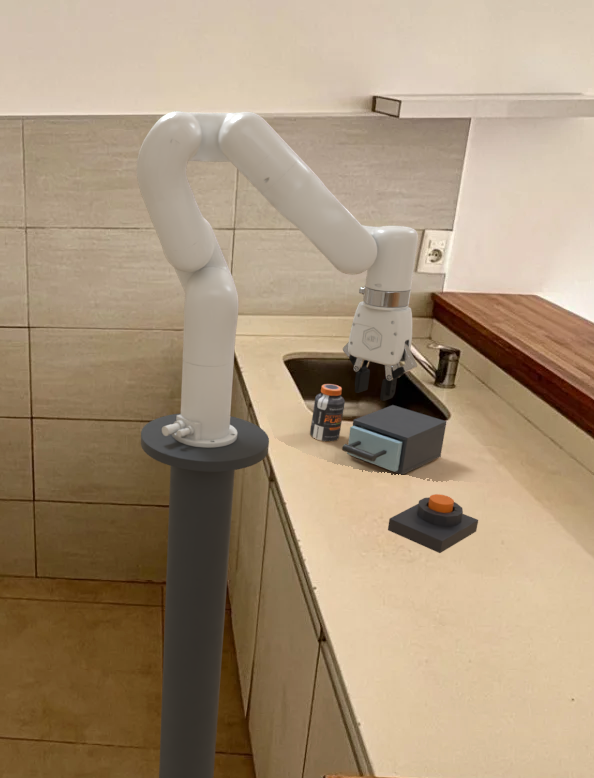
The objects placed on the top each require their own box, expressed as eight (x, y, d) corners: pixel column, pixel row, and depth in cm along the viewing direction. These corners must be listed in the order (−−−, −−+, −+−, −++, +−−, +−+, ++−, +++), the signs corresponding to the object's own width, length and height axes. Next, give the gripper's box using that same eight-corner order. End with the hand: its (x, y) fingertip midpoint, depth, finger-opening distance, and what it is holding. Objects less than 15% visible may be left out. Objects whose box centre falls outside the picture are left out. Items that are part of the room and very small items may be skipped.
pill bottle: (322, 444, 158) (329, 393, 154) (303, 433, 163) (310, 383, 159) (345, 440, 160) (353, 389, 156) (326, 429, 165) (333, 380, 161)
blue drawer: (379, 479, 141) (383, 450, 139) (331, 460, 148) (334, 432, 146) (430, 455, 150) (435, 427, 148) (383, 438, 158) (387, 412, 156)
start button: (444, 516, 122) (446, 506, 121) (423, 507, 125) (425, 498, 124) (456, 509, 124) (458, 500, 123) (435, 501, 127) (437, 492, 126)
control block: (439, 553, 118) (444, 530, 117) (387, 530, 125) (390, 508, 124) (476, 531, 124) (480, 509, 123) (424, 510, 131) (427, 489, 130)
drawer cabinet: (402, 475, 144) (407, 437, 142) (348, 455, 153) (353, 419, 150) (440, 456, 152) (446, 421, 149) (388, 438, 161) (392, 404, 158)
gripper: (332, 292, 139) (322, 387, 146) (419, 309, 127) (404, 412, 133) (357, 287, 144) (346, 379, 150) (443, 303, 131) (427, 403, 137)
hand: (373, 394), depth 141 cm, fingers open, 4 cm apart
